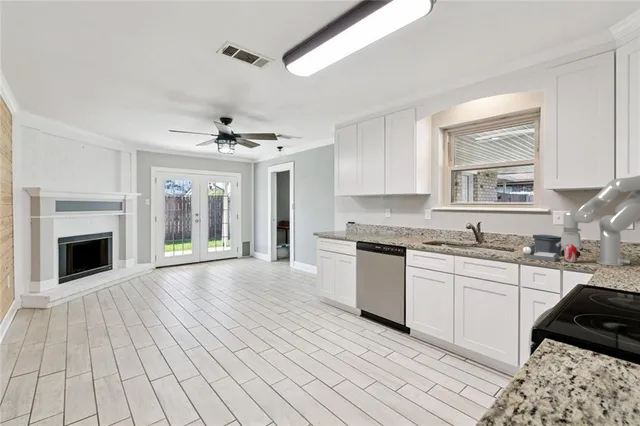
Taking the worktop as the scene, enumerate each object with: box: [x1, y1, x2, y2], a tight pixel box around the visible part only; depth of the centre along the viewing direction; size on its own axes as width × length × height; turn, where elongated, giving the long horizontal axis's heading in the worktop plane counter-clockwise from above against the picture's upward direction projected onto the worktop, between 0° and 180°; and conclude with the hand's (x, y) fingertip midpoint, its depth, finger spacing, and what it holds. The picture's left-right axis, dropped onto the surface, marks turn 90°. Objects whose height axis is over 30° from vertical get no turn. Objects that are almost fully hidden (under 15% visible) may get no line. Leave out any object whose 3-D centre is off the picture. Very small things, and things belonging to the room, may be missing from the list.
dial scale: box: [522, 243, 560, 263], centre depth 218 cm, size 18×13×9 cm
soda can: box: [563, 244, 578, 263], centre depth 206 cm, size 7×7×12 cm
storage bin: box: [532, 234, 562, 257], centre depth 235 cm, size 21×16×14 cm
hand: (570, 256), depth 206 cm, fingers closed on soda can, 7 cm apart
